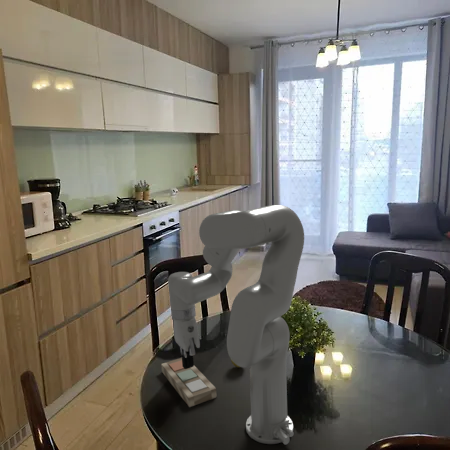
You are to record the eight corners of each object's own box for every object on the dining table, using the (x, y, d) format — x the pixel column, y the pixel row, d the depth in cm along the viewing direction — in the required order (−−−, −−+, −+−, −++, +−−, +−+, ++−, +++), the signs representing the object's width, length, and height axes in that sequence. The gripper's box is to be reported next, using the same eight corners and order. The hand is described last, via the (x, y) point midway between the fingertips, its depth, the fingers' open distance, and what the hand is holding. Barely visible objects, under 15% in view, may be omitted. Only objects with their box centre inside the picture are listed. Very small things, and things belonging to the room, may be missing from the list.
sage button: (197, 383, 132) (197, 376, 131) (183, 388, 129) (182, 380, 129) (191, 376, 136) (191, 369, 135) (177, 381, 134) (176, 373, 133)
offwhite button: (207, 394, 126) (207, 386, 125) (192, 400, 123) (192, 391, 123) (200, 386, 130) (200, 379, 129) (186, 391, 128) (185, 383, 127)
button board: (216, 397, 125) (216, 388, 124) (189, 407, 121) (188, 397, 120) (186, 364, 145) (185, 356, 144) (162, 371, 141) (161, 363, 140)
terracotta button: (189, 373, 138) (188, 366, 137) (175, 378, 135) (174, 370, 135) (183, 367, 142) (182, 360, 142) (169, 371, 140) (169, 364, 139)
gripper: (204, 316, 123) (209, 373, 126) (184, 302, 136) (189, 354, 139) (181, 322, 120) (186, 380, 123) (163, 308, 133) (168, 361, 136)
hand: (188, 366), depth 131 cm, fingers closed
